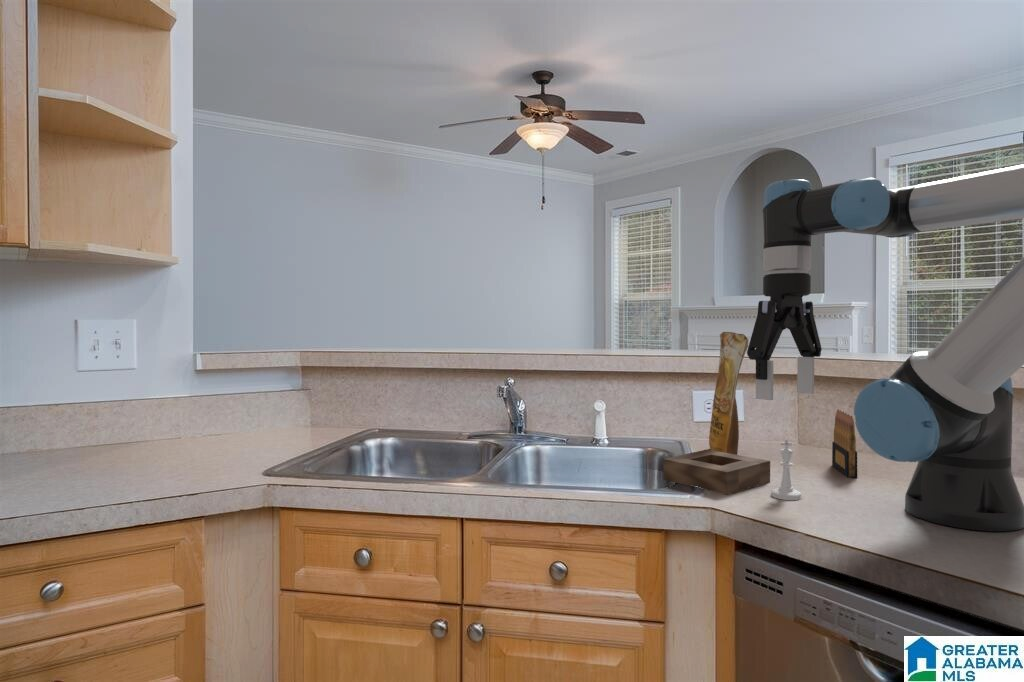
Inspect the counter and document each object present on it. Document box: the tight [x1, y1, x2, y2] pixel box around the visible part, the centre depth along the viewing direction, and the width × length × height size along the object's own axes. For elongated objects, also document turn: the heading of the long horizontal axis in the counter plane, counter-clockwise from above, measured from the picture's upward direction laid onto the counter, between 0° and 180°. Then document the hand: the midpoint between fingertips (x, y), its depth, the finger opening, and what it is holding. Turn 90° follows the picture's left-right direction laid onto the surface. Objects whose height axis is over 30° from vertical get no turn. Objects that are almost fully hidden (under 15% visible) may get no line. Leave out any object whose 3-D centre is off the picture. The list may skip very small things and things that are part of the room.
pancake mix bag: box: [708, 331, 749, 455], centre depth 144 cm, size 7×19×28 cm, turn 170°
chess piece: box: [770, 438, 803, 501], centre depth 109 cm, size 5×5×10 cm
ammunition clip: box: [831, 409, 858, 479], centre depth 126 cm, size 11×2×12 cm, turn 167°
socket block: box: [662, 449, 771, 496], centre depth 120 cm, size 14×14×4 cm
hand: (785, 396), depth 109 cm, fingers open, 13 cm apart
